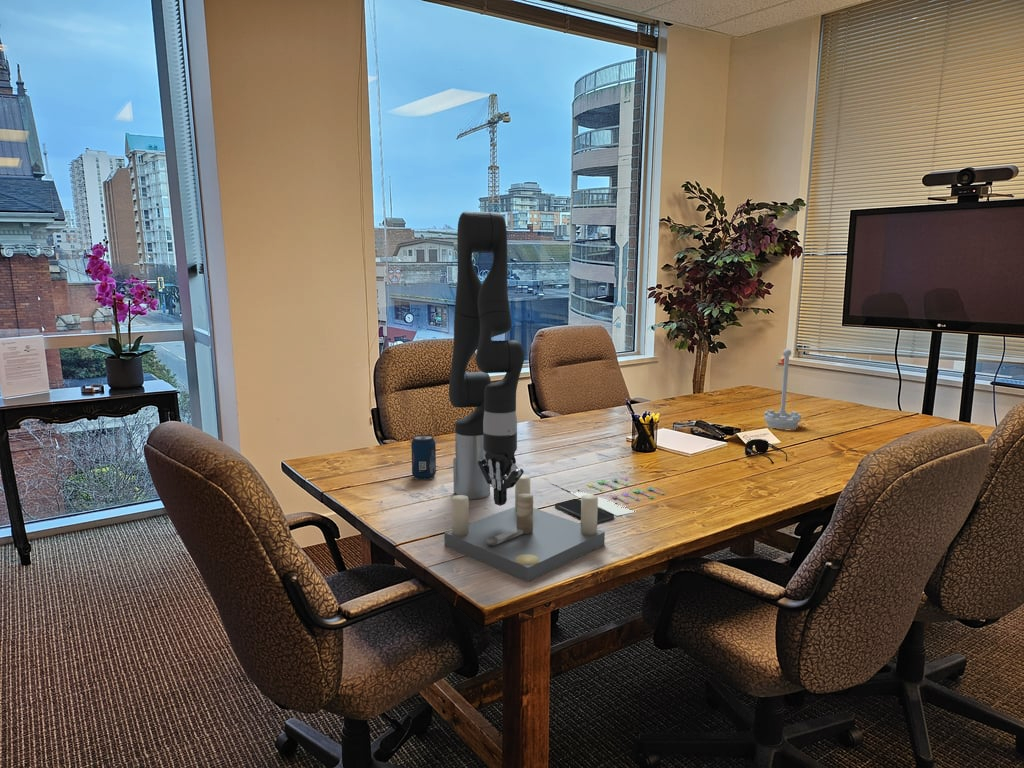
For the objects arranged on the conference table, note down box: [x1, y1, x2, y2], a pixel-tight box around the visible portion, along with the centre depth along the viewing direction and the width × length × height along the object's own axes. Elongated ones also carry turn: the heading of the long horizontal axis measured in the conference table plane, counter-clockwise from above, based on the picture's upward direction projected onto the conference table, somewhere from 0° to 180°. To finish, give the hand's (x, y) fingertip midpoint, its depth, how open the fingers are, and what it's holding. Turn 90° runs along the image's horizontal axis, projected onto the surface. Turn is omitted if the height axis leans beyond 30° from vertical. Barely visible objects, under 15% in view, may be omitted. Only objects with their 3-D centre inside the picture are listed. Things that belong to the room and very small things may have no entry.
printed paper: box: [570, 477, 665, 517], centre depth 187 cm, size 30×30×2 cm
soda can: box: [410, 434, 437, 481], centre depth 196 cm, size 7×7×12 cm
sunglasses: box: [744, 438, 788, 464], centre depth 217 cm, size 10×12×5 cm
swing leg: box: [487, 493, 534, 546], centre depth 145 cm, size 13×4×8 cm, turn 136°
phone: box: [554, 498, 615, 525], centre depth 169 cm, size 8×1×15 cm
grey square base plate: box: [443, 474, 606, 583], centre depth 148 cm, size 25×25×11 cm
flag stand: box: [763, 348, 802, 430], centre depth 256 cm, size 13×13×30 cm
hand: (500, 504), depth 153 cm, fingers closed
